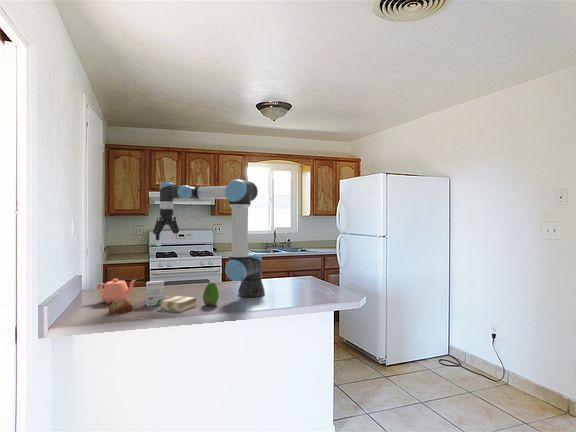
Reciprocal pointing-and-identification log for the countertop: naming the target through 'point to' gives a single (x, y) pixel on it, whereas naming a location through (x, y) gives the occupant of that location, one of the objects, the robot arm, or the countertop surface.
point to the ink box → (154, 292)
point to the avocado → (211, 294)
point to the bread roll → (120, 307)
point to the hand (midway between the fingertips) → (166, 244)
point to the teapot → (115, 290)
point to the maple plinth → (178, 303)
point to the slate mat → (163, 309)
